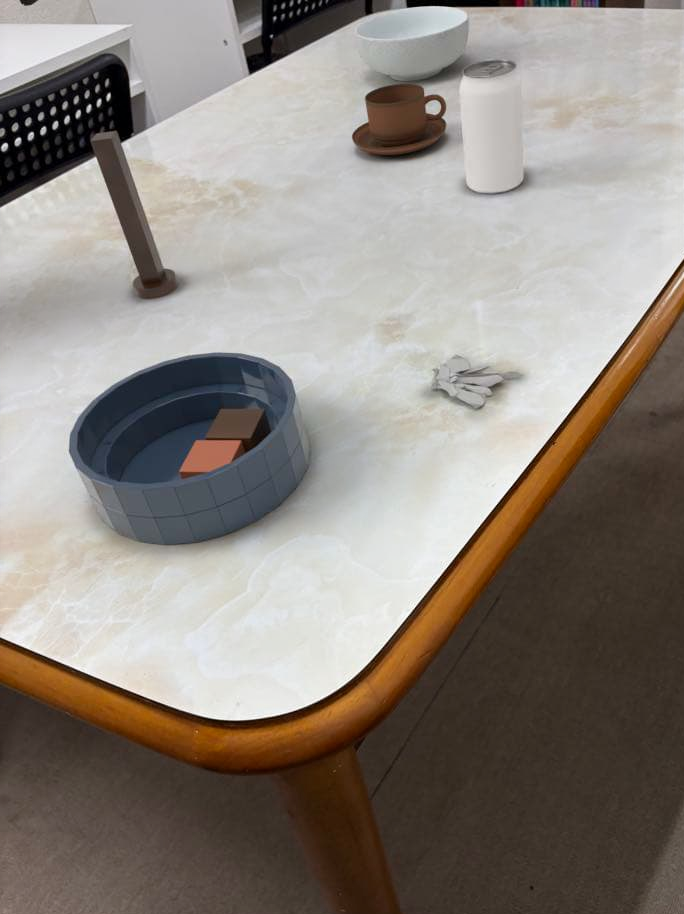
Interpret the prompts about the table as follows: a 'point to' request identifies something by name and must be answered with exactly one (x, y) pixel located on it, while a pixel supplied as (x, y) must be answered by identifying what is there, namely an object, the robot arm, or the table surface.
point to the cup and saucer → (399, 121)
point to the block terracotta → (210, 456)
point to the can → (492, 126)
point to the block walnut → (240, 427)
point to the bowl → (187, 448)
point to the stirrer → (132, 218)
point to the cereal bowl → (413, 41)
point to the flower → (467, 380)
